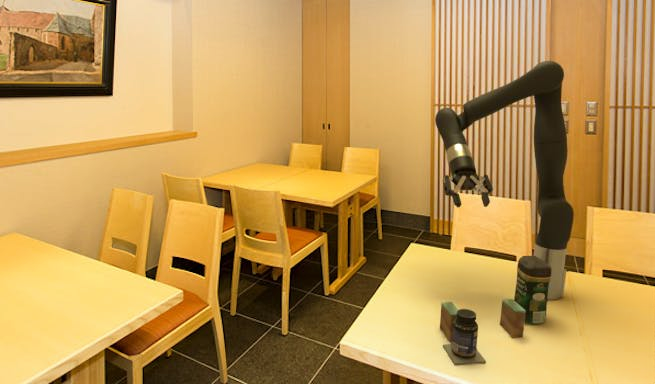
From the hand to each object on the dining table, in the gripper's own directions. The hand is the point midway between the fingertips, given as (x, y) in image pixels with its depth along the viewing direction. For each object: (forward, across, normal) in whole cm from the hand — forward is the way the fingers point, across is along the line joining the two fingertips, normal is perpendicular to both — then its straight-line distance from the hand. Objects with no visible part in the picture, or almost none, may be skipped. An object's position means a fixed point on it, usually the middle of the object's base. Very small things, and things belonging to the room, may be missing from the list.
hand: (473, 205), depth 128 cm
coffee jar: (+29, +16, +17) cm, 38 cm away
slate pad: (+40, -11, +6) cm, 42 cm away
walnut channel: (+34, -2, +12) cm, 36 cm away
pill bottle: (+40, -11, +6) cm, 42 cm away
